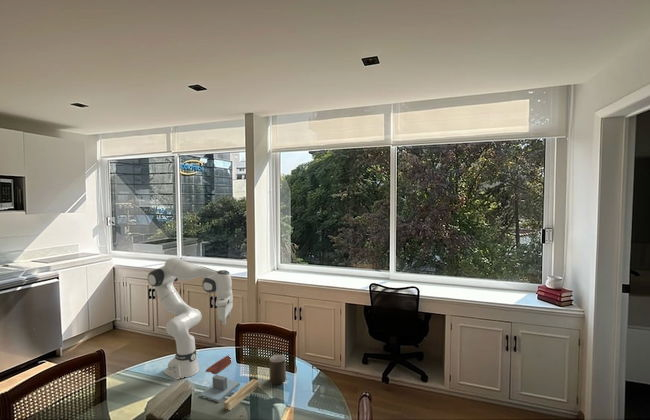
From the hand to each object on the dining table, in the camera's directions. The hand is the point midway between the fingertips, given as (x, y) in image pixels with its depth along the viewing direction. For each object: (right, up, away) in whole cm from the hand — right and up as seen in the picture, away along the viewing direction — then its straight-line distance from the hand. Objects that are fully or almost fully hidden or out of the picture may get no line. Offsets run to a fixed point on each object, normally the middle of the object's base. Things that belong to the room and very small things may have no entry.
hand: (226, 321), depth 199 cm
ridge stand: (-4, -40, -1) cm, 41 cm away
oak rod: (+11, -41, -7) cm, 43 cm away
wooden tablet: (-10, -39, +31) cm, 51 cm away
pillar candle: (+29, -39, +9) cm, 50 cm away
